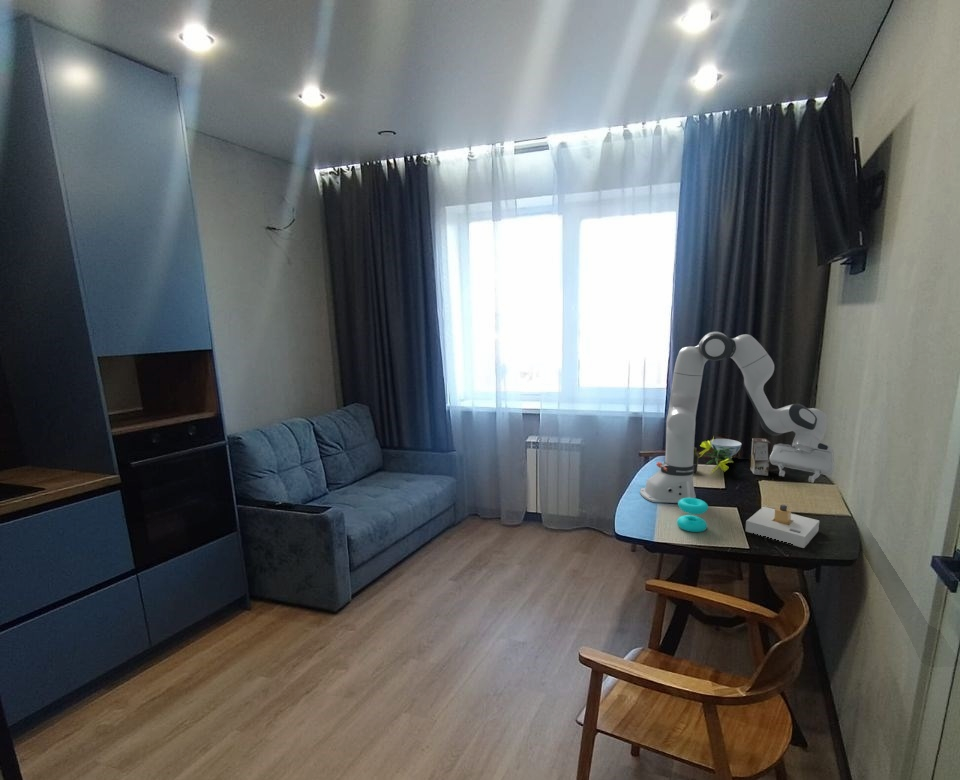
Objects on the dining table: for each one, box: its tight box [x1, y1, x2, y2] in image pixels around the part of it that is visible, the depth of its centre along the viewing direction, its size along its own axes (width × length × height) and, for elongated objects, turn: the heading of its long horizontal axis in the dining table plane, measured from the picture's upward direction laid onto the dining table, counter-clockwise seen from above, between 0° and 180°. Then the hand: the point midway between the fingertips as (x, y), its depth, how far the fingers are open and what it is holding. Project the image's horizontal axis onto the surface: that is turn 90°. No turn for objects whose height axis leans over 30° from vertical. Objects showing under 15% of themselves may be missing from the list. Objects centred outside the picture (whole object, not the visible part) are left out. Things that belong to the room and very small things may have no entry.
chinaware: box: [709, 438, 742, 459], centre depth 263 cm, size 15×15×8 cm
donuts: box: [676, 497, 709, 533], centre depth 178 cm, size 10×10×10 cm
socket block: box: [745, 506, 820, 549], centre depth 174 cm, size 18×18×4 cm
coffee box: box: [749, 437, 772, 477], centre depth 236 cm, size 9×6×16 cm
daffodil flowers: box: [698, 436, 733, 474], centre depth 242 cm, size 17×15×35 cm
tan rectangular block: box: [774, 504, 792, 525], centre depth 174 cm, size 4×4×10 cm
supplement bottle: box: [693, 446, 699, 474], centre depth 239 cm, size 7×7×12 cm
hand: (795, 478), depth 180 cm, fingers open, 8 cm apart
